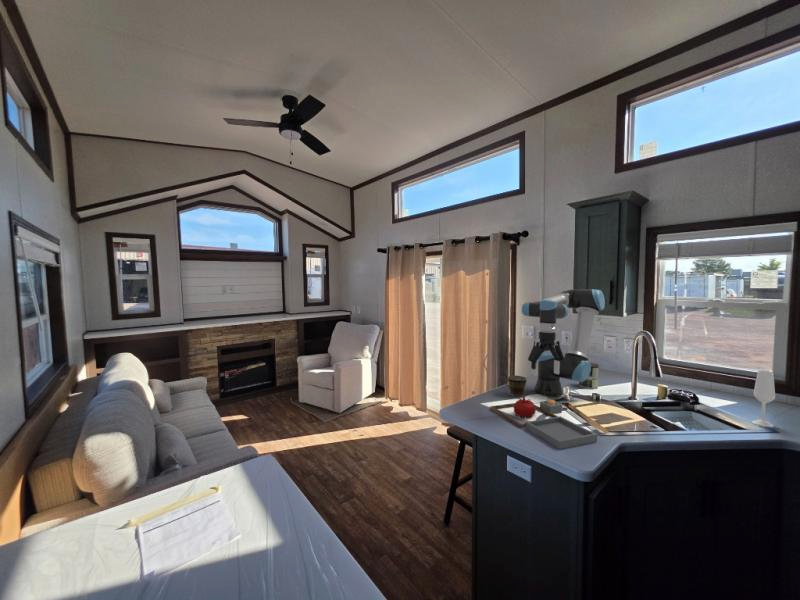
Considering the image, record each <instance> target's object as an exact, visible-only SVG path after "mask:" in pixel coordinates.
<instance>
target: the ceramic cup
mask: <svg viewBox="0 0 800 600" xmlns="http://www.w3.org/2000/svg"><path fill="white" fill-rule="evenodd" d="M507 382H508V384H507ZM526 384H527V377H524V376H522V375H509V376H508V377H507V379H505V381H504V385H505V386H507V387H508V388H509V392H510V395H511V396H512V397H514V398H521V397H522V398H523V396H524V391H525V387H526Z"/></svg>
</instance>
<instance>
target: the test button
mask: <svg viewBox="0 0 800 600" xmlns="http://www.w3.org/2000/svg"><path fill="white" fill-rule="evenodd" d="M546 401H547V402H546V404H548V405H555V402H556V400H554V399H551V398H548V399H546Z"/></svg>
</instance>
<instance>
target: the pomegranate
mask: <svg viewBox="0 0 800 600" xmlns="http://www.w3.org/2000/svg"><path fill="white" fill-rule="evenodd" d="M514 403H515V404H514V407H513V411H514V412H513V413H515V415H516V416H518V417H520V418H523V419H524V418H531V417H533V416H534V415H535V414H536V411H537V410H536V408H535V405H536V404H534V402H533V401H532V400H531V399H529V398H528V399H526V396H524V395H523V396H522V398H521V397H517V400H516V402H514Z"/></svg>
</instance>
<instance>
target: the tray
mask: <svg viewBox="0 0 800 600" xmlns="http://www.w3.org/2000/svg"><path fill="white" fill-rule="evenodd" d="M525 423H526V427H525V429H526V430H527V431H529V432H531V433H532V434H534V436H537V437H539V438H540V439H542V440H544V441H545V442H547V443H548V444H550V445H552V447H553V446H554V447H555V448H557V449H559V450H562V449H563V450H564V449H568V448H572V447H573V448H574V447H577V446H578V447H579V446H582V445H588V444H593V443H597V442H598V434H597V433H596V432H593V431H591V430H589V429H587V428H585V427H583V426H581V425H579V424H578V423H577V424H576V423H574V422H573V421H571V420H568V419H567V418H564V417H563V416H558V417H553V418H552V417H547V418H541V419H536V420H535V419H534V420H530V421H525Z"/></svg>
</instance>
